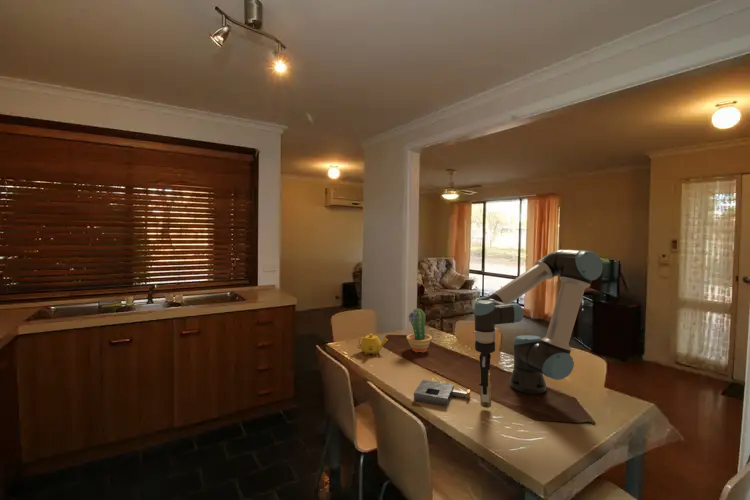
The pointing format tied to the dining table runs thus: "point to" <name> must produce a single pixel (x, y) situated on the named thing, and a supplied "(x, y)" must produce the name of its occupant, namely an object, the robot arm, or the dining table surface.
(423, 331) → the potted cactus
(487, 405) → the cylinder
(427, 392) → the block
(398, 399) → the dining table surface
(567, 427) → the dining table surface
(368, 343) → the teapot
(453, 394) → the lock pin
